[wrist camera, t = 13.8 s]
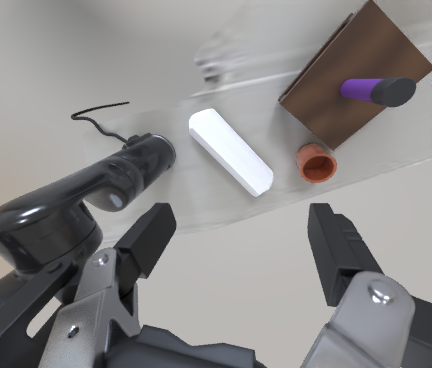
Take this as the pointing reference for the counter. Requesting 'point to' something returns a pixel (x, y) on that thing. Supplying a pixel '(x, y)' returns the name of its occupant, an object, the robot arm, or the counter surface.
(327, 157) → the pen cup
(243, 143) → the crystal
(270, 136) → the counter surface
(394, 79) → the marker
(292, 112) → the shelf
